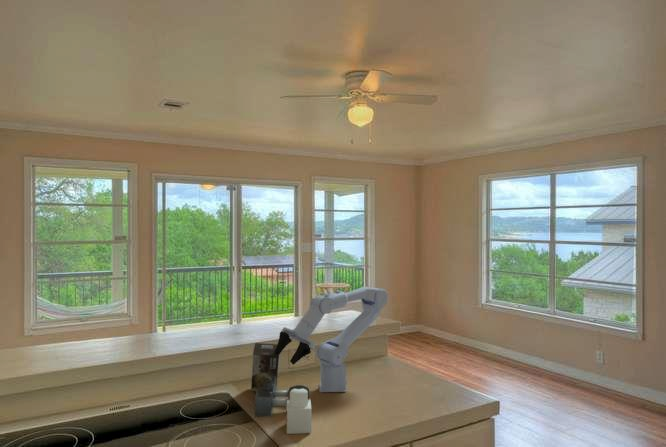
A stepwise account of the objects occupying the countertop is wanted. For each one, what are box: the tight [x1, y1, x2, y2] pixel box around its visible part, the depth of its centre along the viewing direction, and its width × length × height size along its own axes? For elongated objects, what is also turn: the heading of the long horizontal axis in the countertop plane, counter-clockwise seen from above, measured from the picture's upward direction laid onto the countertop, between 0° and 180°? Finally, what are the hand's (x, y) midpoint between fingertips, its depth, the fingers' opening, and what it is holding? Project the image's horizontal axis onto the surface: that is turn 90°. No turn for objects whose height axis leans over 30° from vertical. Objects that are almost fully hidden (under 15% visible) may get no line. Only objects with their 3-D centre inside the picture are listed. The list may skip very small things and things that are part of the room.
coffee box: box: [250, 342, 281, 392], centre depth 159 cm, size 9×6×16 cm
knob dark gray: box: [274, 386, 292, 398], centre depth 151 cm, size 9×4×4 cm, turn 92°
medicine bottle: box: [285, 384, 312, 435], centre depth 132 cm, size 7×7×12 cm
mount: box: [254, 381, 277, 418], centre depth 147 cm, size 5×14×6 cm, turn 2°
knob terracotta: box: [272, 395, 289, 407], centre depth 144 cm, size 9×4×4 cm, turn 92°
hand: (283, 358), depth 152 cm, fingers open, 7 cm apart
